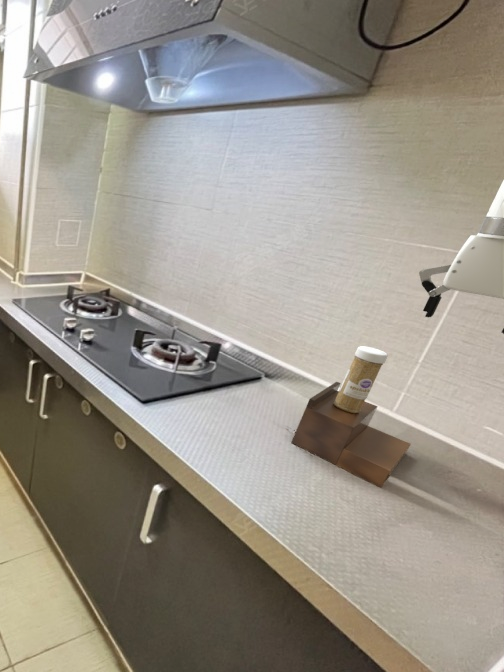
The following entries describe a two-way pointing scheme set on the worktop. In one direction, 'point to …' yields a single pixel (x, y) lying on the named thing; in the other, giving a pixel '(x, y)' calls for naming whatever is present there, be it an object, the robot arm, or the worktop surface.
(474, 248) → the robot arm
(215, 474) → the worktop surface
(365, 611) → the worktop surface
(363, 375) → the sprinkles bottle
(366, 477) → the spice rack
